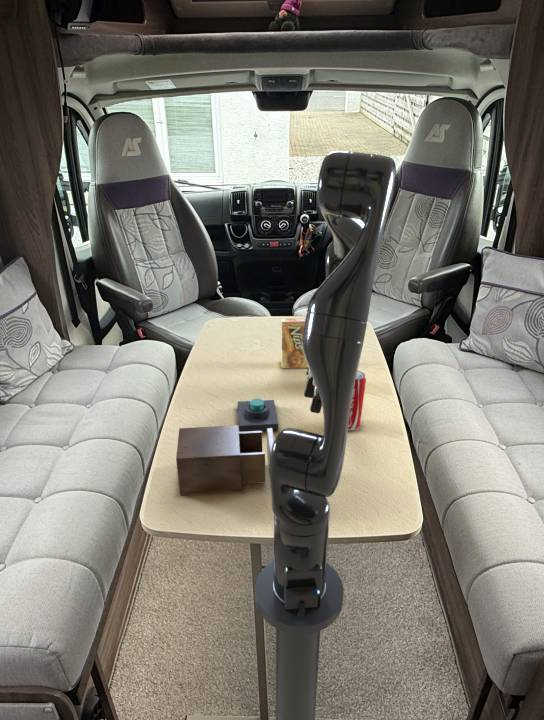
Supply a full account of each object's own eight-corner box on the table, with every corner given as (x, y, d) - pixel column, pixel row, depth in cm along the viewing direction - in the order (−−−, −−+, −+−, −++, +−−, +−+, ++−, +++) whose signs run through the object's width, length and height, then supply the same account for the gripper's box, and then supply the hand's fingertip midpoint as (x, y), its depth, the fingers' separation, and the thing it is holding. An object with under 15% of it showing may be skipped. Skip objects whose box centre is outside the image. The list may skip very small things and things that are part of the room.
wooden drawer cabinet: (239, 459, 130) (238, 425, 125) (241, 491, 120) (240, 454, 115) (182, 463, 129) (179, 428, 124) (180, 495, 119) (176, 458, 114)
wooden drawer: (292, 455, 130) (293, 426, 126) (298, 483, 121) (299, 453, 117) (219, 459, 129) (217, 430, 125) (219, 487, 120) (218, 457, 116)
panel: (278, 430, 141) (278, 417, 139) (239, 432, 140) (238, 419, 138) (273, 406, 151) (273, 394, 149) (237, 408, 150) (237, 395, 148)
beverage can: (335, 428, 142) (338, 378, 135) (342, 416, 147) (346, 366, 140) (357, 433, 140) (362, 382, 133) (364, 421, 145) (368, 371, 138)
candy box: (308, 362, 175) (310, 317, 168) (309, 368, 171) (311, 323, 164) (281, 362, 175) (281, 317, 167) (281, 368, 171) (281, 323, 164)
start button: (264, 411, 142) (264, 405, 142) (250, 411, 142) (250, 405, 141) (263, 403, 146) (263, 398, 145) (249, 404, 145) (249, 398, 144)
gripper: (308, 323, 123) (291, 389, 128) (319, 342, 110) (299, 414, 115) (339, 330, 124) (321, 395, 130) (354, 349, 111) (333, 420, 117)
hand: (311, 404), depth 122 cm, fingers open, 8 cm apart
